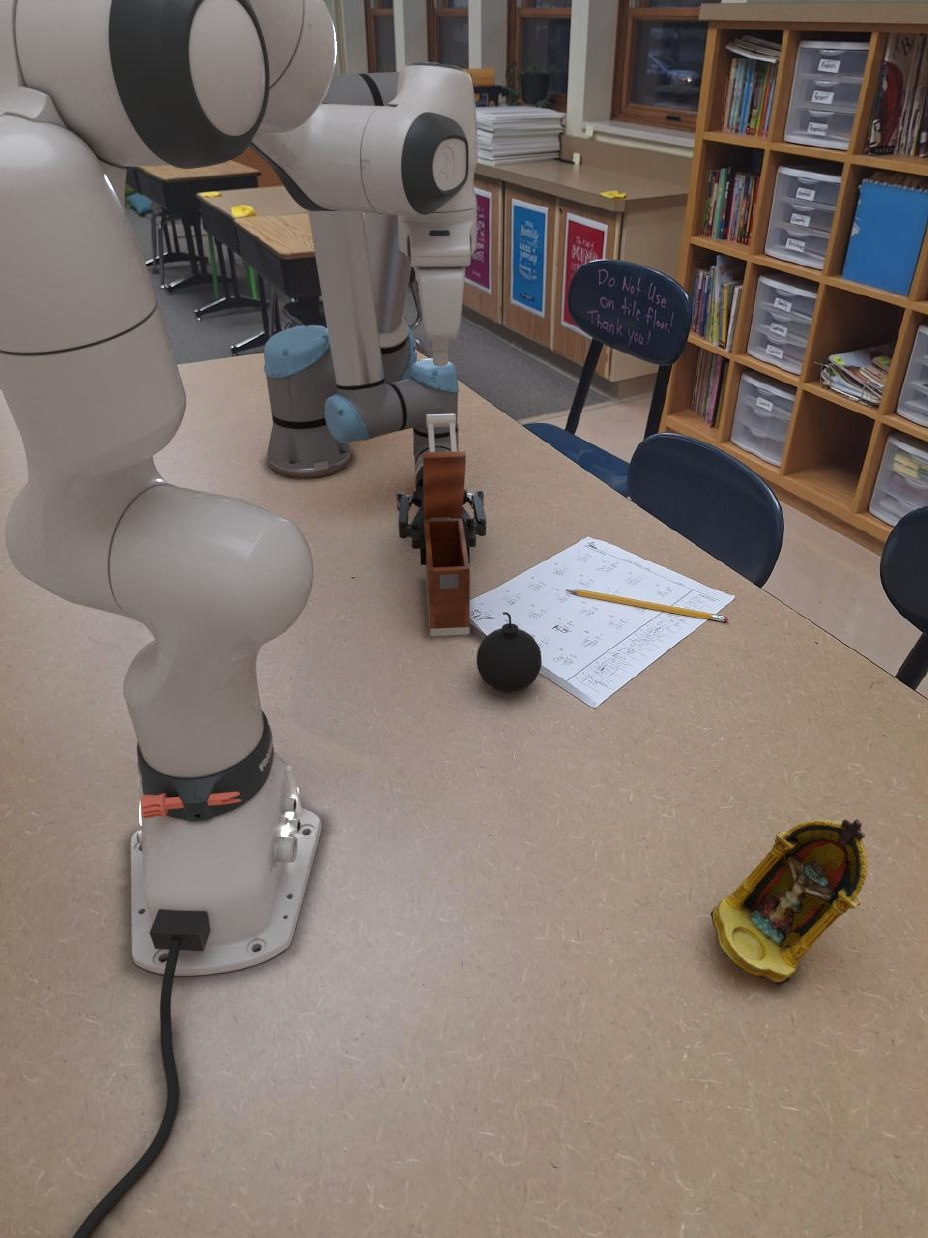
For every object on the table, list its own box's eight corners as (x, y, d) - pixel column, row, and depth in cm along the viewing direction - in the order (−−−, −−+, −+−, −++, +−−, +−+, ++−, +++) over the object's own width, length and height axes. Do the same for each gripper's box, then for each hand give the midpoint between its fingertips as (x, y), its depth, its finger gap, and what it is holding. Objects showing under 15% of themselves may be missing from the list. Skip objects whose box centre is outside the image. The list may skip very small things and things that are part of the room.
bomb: (495, 658, 111) (497, 579, 104) (551, 678, 107) (556, 598, 100) (464, 692, 105) (464, 612, 98) (521, 714, 102) (525, 633, 95)
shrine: (791, 892, 81) (830, 781, 73) (851, 966, 75) (901, 853, 66) (686, 929, 78) (714, 817, 69) (739, 1009, 72) (776, 896, 63)
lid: (466, 456, 107) (461, 402, 111) (423, 457, 107) (420, 403, 110) (462, 517, 120) (458, 466, 123) (424, 518, 119) (421, 468, 123)
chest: (469, 634, 115) (469, 568, 109) (430, 636, 115) (428, 570, 109) (462, 580, 126) (462, 517, 120) (426, 582, 126) (424, 519, 120)
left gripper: (408, 216, 105) (412, 330, 113) (410, 253, 88) (414, 384, 96) (460, 216, 106) (460, 330, 113) (471, 252, 89) (470, 383, 97)
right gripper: (495, 499, 140) (510, 576, 121) (382, 503, 139) (379, 581, 120) (496, 457, 136) (512, 530, 117) (379, 460, 135) (376, 534, 116)
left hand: (439, 355), depth 105 cm, fingers open, 5 cm apart
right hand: (445, 555), depth 118 cm, fingers closed on chest, 5 cm apart
